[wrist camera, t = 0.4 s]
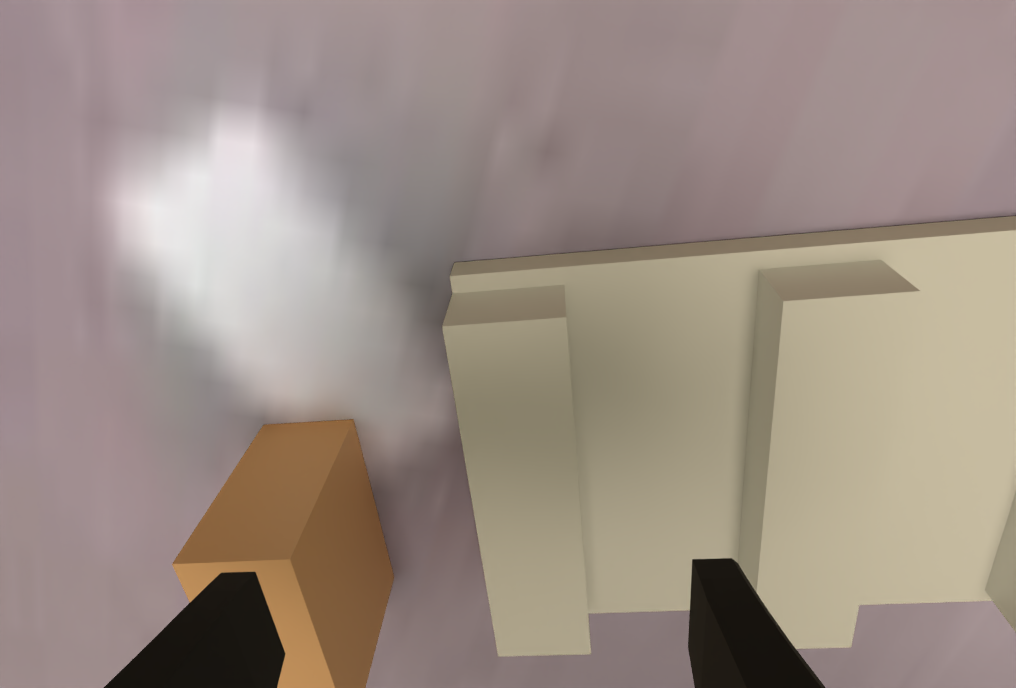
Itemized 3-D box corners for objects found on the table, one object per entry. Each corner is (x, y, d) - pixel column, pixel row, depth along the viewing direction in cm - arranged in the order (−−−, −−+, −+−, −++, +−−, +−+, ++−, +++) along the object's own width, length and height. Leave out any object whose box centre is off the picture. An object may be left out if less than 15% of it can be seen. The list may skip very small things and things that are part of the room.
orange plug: (394, 576, 24) (352, 736, 19) (315, 579, 25) (253, 738, 19) (353, 418, 21) (289, 559, 16) (264, 423, 22) (172, 564, 16)
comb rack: (1317, 565, 22) (1424, 644, 19) (505, 593, 24) (499, 666, 22) (1564, 170, 16) (1767, 205, 13) (454, 262, 18) (438, 307, 16)
